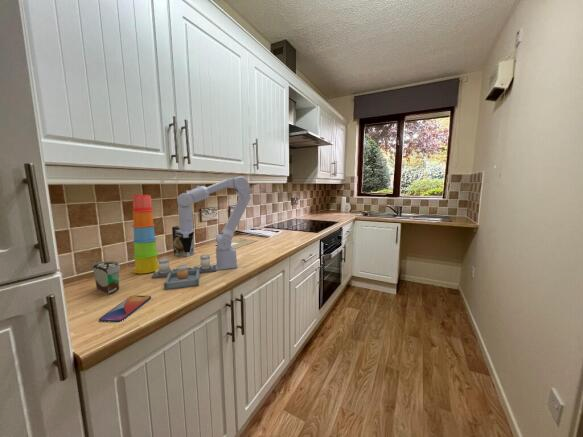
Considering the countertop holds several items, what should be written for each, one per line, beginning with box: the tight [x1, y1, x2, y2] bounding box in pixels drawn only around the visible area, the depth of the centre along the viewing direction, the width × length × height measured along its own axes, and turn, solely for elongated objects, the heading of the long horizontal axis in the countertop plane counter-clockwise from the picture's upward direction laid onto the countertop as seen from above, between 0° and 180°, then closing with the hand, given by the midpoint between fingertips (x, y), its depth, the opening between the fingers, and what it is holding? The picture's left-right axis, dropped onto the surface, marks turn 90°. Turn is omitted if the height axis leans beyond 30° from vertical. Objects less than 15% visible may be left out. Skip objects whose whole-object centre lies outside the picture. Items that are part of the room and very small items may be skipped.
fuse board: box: [150, 263, 217, 279], centre depth 109 cm, size 26×7×2 cm, turn 109°
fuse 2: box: [199, 254, 211, 270], centre depth 112 cm, size 4×4×6 cm
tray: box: [163, 269, 201, 291], centre depth 99 cm, size 12×12×2 cm
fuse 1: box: [157, 257, 171, 274], centre depth 106 cm, size 4×4×6 cm
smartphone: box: [98, 294, 152, 323], centre depth 78 cm, size 7×15×1 cm, turn 178°
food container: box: [92, 260, 122, 296], centre depth 91 cm, size 12×6×10 cm, turn 59°
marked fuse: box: [176, 264, 189, 281], centre depth 99 cm, size 4×4×6 cm
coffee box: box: [171, 225, 195, 258], centre depth 134 cm, size 9×6×16 cm
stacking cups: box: [131, 194, 159, 275], centre depth 109 cm, size 10×10×35 cm
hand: (187, 249), depth 110 cm, fingers open, 7 cm apart
